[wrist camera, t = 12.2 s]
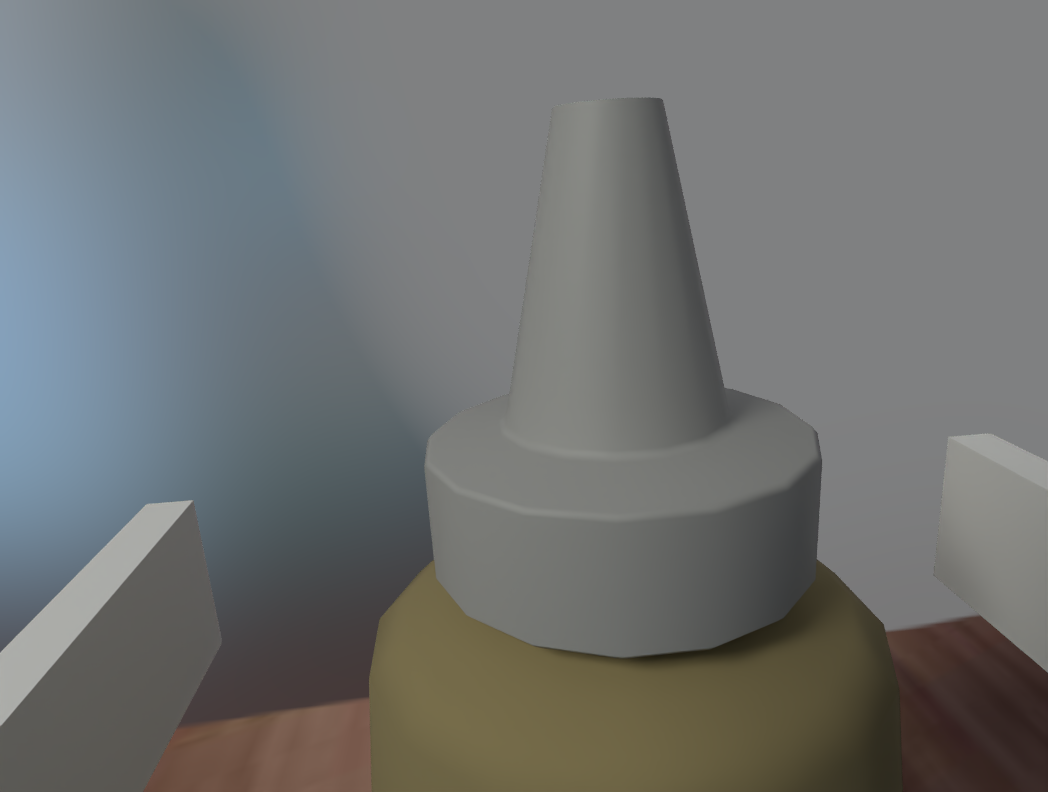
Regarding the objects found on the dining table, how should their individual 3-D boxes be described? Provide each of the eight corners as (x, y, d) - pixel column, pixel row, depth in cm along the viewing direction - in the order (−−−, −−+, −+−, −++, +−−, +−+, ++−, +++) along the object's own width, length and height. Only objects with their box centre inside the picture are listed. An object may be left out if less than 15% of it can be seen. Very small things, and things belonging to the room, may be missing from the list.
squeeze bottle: (332, 1582, 10) (-61, 98, 5) (456, 956, 17) (360, 142, 12) (1000, 1702, 9) (1453, -31, 4) (816, 981, 16) (877, 106, 11)
